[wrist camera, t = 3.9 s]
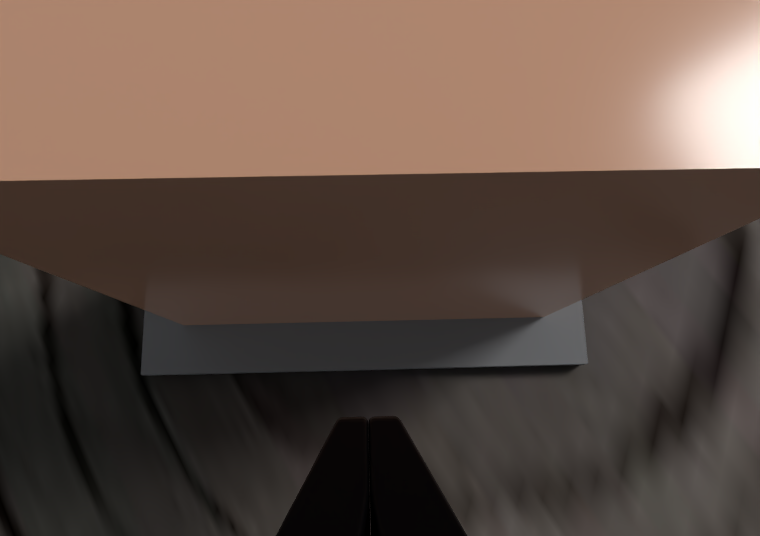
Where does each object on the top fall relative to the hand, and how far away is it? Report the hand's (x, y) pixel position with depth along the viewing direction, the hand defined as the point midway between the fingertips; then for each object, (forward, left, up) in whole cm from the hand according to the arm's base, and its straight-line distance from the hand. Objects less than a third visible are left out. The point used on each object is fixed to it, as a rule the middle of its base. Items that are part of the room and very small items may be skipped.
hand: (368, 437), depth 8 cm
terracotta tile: (+3, +2, -6) cm, 7 cm away
